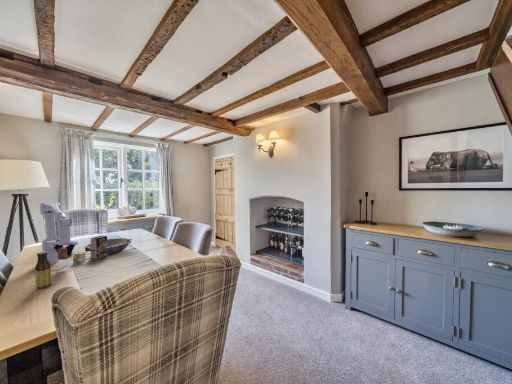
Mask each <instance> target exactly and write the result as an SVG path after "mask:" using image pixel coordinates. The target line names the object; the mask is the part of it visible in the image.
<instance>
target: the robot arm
mask: <svg viewBox="0 0 512 384" xmlns="http://www.w3.org/2000/svg"><path fill="white" fill-rule="evenodd" d="M61 207H62V206H61V203H60V202H59V201H56V202H41V203H40V205H39V211H40V214H41V215H42V216H44V222H45V224H44V225H45V231H46V238H45V239H43V240H42V241H41V251H42V252H45V251H46V252H47V260H48V261H49V262H50V265H55V264H57V263H59V262H62V260H58V249H60V248H62V247H64V246H65V247H66V248H67V251H68V256H70V255H71V254H72V253H73V250H74V248H75V247H76V246H77V245H78V241H73V240H72V241H71V226H72V224H73V222H72V218H71V217H69V216H67V215H66V214H65V212H63V211H61ZM55 221H56V225H57V226H56V225H55ZM56 227H57V230H58V236H57V235H56V234H57V233H56ZM72 255H73V254H72Z"/></svg>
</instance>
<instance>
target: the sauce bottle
mask: <svg viewBox="0 0 512 384" xmlns="http://www.w3.org/2000/svg"><path fill="white" fill-rule="evenodd" d="M36 256H37V262H36V265H35V267H34V273H35V274H34V275H35V277H34V278H35V288H36V289H38V290H40V289H41V290H43V289H46V288H48V287H49V288H50V287H51V285H52V272H51V267H52V266H51V264H50V262H49V261H48V260H47V252H46V251H45V252H43V251H40V252H37V253H36Z"/></svg>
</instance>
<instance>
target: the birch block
mask: <svg viewBox="0 0 512 384" xmlns="http://www.w3.org/2000/svg"><path fill="white" fill-rule="evenodd" d="M72 260H73V264H81V263H83V262H85V260H86V251H76V252H75V253H73V254H72Z"/></svg>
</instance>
